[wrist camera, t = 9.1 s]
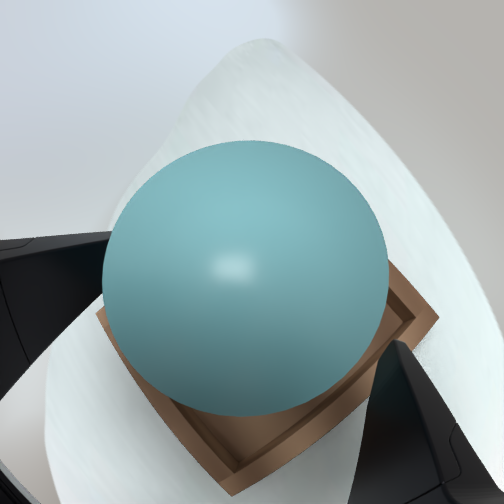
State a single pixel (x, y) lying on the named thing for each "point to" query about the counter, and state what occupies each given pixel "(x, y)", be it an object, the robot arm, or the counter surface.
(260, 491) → the counter surface
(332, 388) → the tray
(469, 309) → the counter surface
